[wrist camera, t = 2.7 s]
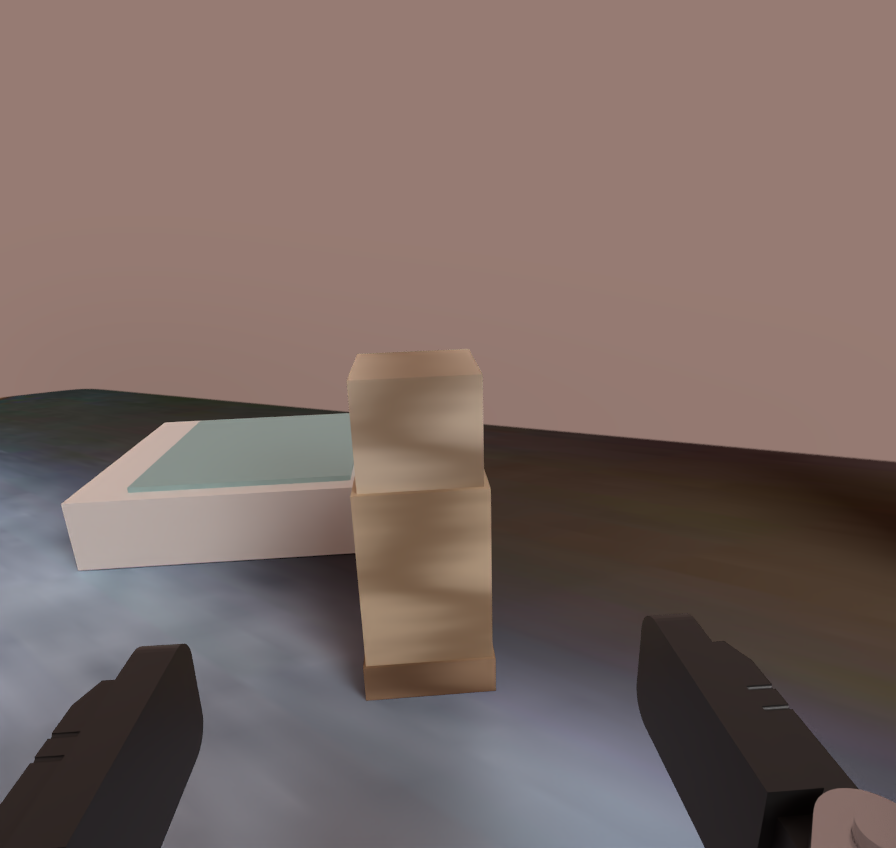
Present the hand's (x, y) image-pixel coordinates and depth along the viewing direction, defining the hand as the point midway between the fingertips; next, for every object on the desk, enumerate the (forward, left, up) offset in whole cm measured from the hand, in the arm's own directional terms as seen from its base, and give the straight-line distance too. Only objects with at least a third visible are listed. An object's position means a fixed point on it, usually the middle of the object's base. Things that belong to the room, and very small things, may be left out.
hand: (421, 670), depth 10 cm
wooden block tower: (-2, -12, -10) cm, 15 cm away
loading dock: (+5, -29, -9) cm, 31 cm away
